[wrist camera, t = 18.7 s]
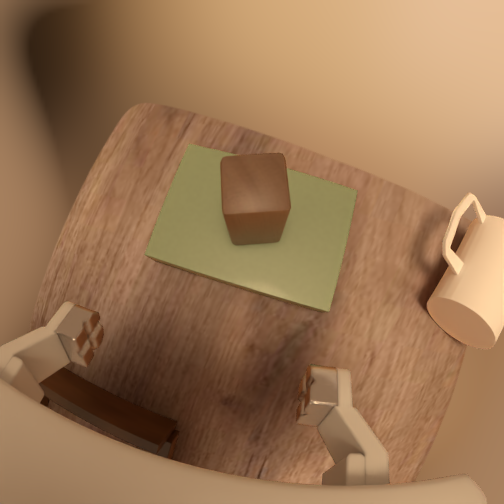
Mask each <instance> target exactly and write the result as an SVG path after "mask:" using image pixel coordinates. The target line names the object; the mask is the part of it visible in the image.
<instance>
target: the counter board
mask: <svg viewBox="0 0 504 504" xmlns="http://www.w3.org/2000/svg"><path fill="white" fill-rule="evenodd" d="M235 155H236V154H232V153H227V152H223V151H219V150H215V149H210V148H206V147H202V146H197V145H192V144H189V145H188V147H187V149H186V152H185V154H184V156H183V158H182V161H181V163H180V165H179V167H178V170H177V172H176V174H175V177H174V179H173V182H172V184H171V186H170V189H169V191H168V194H167V196H166V199H165V201H164V204H163V206H162V209H161V211H160V214H159V216H158V219H157V222H156V224H155V227H154V230H153V232H152V235H151V238H150V241H149V243H148V246H147V249H146V252H145V255H146V256H148V257H149V258H151V259H153V260H155V261H157V262H160V263H163V264H166V265H169V266H172V267H175V268H178V269H181V270H184V271H187V272H190V273H193V274H197V275H200V276H203V277H206V278H209V279H212V280H215V281H218V282H222V283H225V284H228V285H231V286H234V287H237V288H241V289H244V290H247V291H250V292H254V293H257V294H260V295H264V296H267V297H270V298H274V299H277V300H280V301H284V302H287V303H291V304H294V305H297V306H301V307H304V308H308V309H311V310H315V311H318V312H329V310H330V307H331V303H332V299H333V296H334V292H335V288H336V284H337V280H338V277H339V273H340V269H341V265H342V260H343V256H344V252H345V248H346V244H347V239H348V235H349V230H350V226H351V221H352V216H353V211H354V207H355V202H356V196H357V190H354V189H351V188H348V187H345V186H342V185H339V184H336V183H333V182H330V181H327V180H324V179H321V178H318V177H314V176H311V175H308V174H305V173H301V172H298V171H295V170H291V169H288V168H287V176H288V184H289V193H290V201H291V209H290V212H289V215H288V218H287V221H286V224H285V227H284V230H283V233H282V236H281V239H280V241H278V242H275V243H261V244H246V245H234V244H233V243H232V241H231V239H230V236H229V232H228V229H227V226H226V223H225V220H224V216H223V213H222V199H221V173H220V162H221V160H222V158H223V157H225V156H235Z"/></svg>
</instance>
